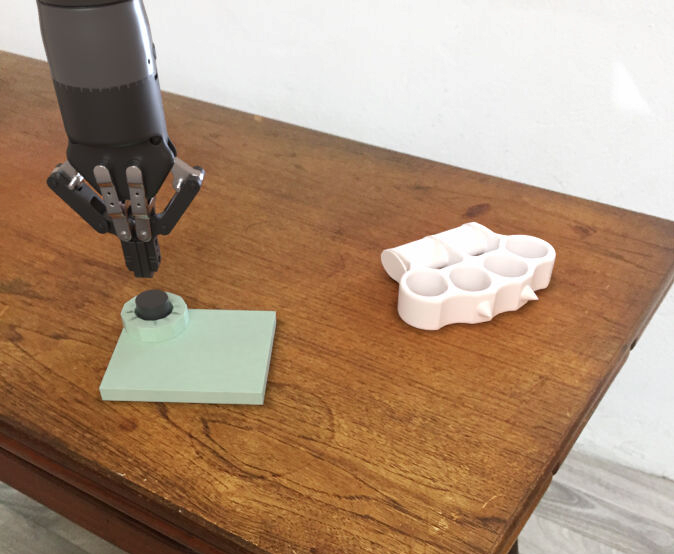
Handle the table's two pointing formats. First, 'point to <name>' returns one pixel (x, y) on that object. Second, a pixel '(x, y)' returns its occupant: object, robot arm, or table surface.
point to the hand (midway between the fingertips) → (146, 272)
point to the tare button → (152, 305)
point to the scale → (191, 356)
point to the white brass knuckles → (467, 275)
